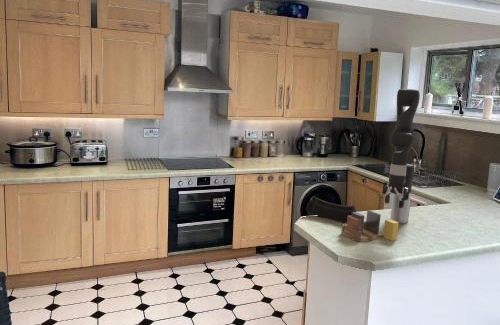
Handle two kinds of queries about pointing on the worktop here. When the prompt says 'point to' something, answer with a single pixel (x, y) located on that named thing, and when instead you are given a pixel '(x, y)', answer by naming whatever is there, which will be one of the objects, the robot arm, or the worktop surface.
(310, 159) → the worktop surface
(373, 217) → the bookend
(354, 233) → the shelf
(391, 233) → the book
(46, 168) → the worktop surface
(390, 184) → the robot arm
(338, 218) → the magazine
